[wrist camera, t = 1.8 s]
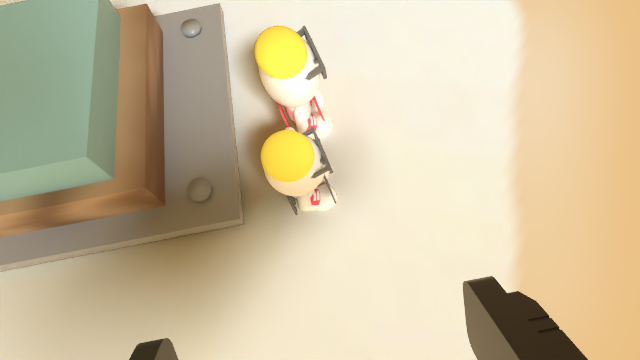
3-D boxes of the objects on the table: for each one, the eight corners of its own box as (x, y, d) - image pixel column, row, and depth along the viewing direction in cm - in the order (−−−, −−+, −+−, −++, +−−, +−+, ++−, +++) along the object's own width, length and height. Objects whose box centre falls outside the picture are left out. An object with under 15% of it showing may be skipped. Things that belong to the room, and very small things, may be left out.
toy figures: (342, 221, 29) (334, 164, 21) (277, 228, 29) (247, 173, 22) (328, 77, 34) (317, -10, 27) (273, 84, 34) (247, -1, 27)
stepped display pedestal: (-72, 285, 30) (-189, 258, 23) (-21, 61, 38) (-97, -3, 32) (243, 223, 29) (210, 180, 23) (223, 12, 38) (194, -62, 32)
